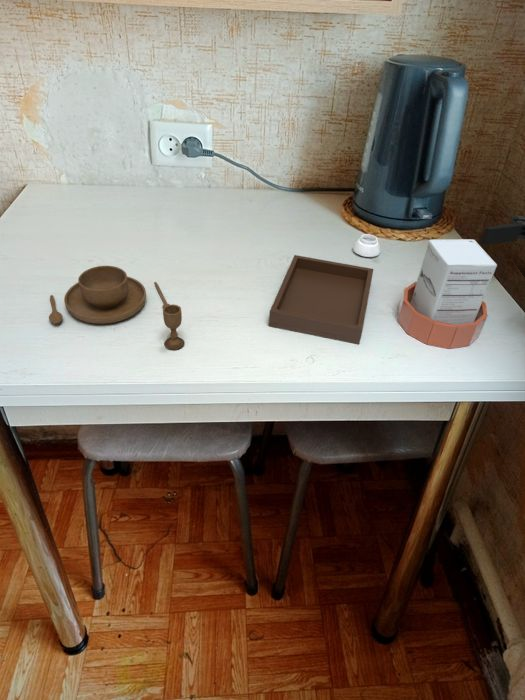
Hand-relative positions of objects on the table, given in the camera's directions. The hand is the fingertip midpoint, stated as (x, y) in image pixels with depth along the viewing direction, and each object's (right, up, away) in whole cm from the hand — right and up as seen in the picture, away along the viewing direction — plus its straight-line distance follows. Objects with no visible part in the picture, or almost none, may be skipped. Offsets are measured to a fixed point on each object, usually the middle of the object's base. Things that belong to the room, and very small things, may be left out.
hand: (512, 257), depth 75 cm
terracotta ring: (-10, -9, +4) cm, 14 cm away
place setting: (-59, -9, 0) cm, 59 cm away
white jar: (-17, +5, +21) cm, 27 cm away
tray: (-27, -6, +7) cm, 29 cm away
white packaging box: (-10, -10, +4) cm, 14 cm away
